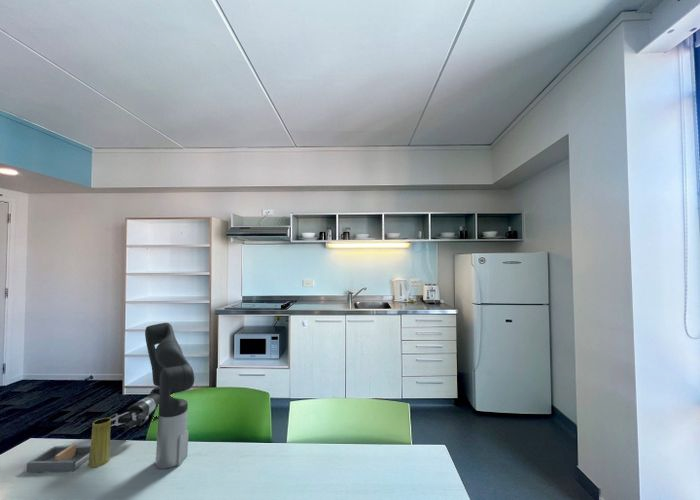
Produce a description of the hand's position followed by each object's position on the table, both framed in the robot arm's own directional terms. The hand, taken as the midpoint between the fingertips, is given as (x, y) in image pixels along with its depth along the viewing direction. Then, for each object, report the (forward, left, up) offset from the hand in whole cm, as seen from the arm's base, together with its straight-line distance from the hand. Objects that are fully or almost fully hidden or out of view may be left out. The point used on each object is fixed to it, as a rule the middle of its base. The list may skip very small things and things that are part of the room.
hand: (114, 428), depth 116 cm
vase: (0, +7, -9) cm, 11 cm away
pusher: (+12, +7, -8) cm, 15 cm away
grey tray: (+13, +7, -8) cm, 16 cm away
